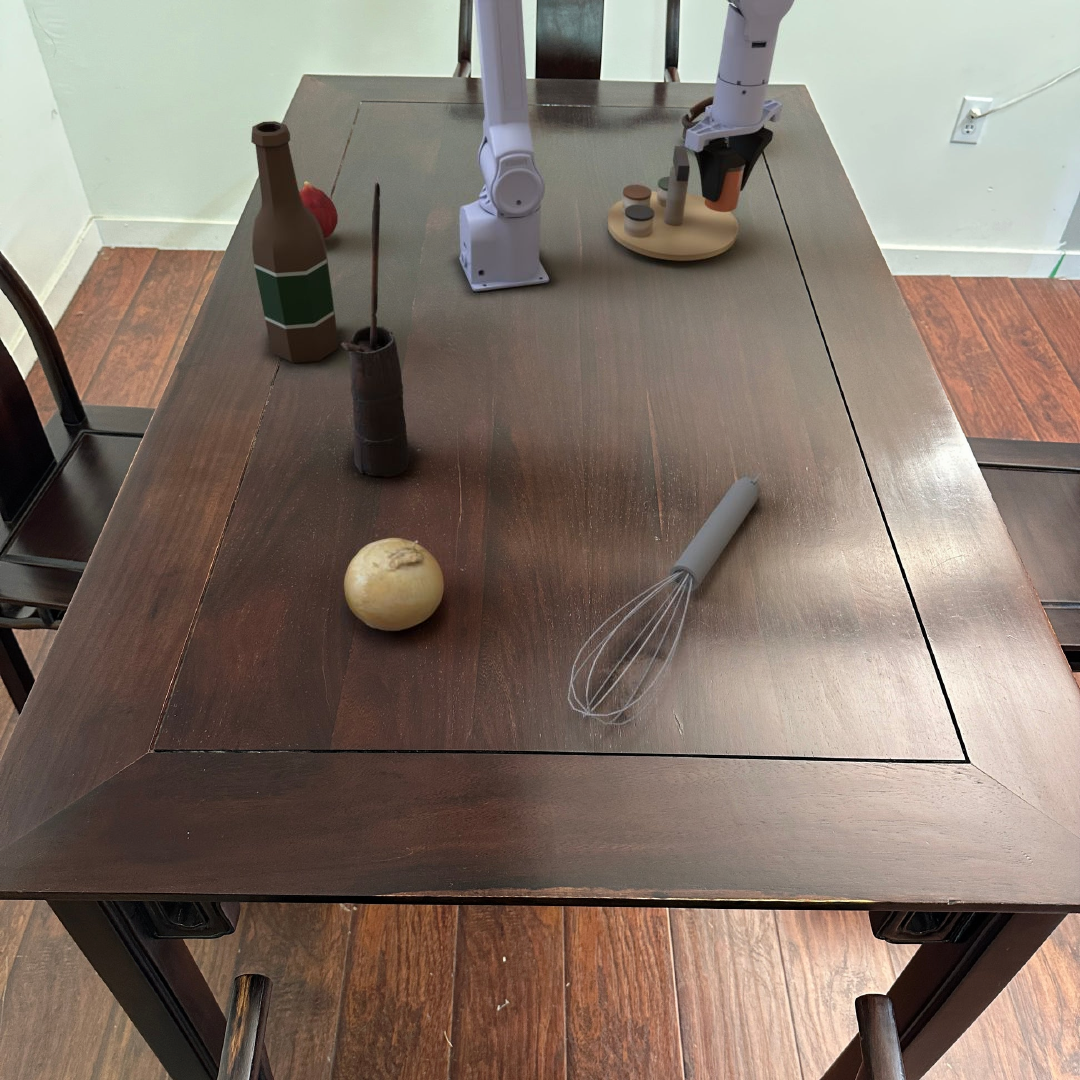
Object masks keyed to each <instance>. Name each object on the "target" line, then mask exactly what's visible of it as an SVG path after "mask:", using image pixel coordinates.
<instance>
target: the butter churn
mask: <svg viewBox="0 0 1080 1080" xmlns="http://www.w3.org/2000/svg"><path fill="white" fill-rule="evenodd" d="M380 197H381V187H380V183H378V182H375V183H374V192H373V205H372V210H371V286H370V287H371V288H370V291H371V293H370V294H371V298H370V299H371V300H370V312H371V313H370V317H371V319H370V325H366V326H364V327H362V328H360V329H358V330H356V331H355V332H354V334H353V335H352V338H351V339H350V340H349V343H347V342H345V341H343V342H341V343H340V345H341V347H342V348H343V349H344V350H346V352H348V353H349V358H350V364H349V365H350V366H349V368H350V370H349V371H350V380H351V382H350V394H351V397H352V414H353V433H354V434H353V445H354V446H353V447H354V448H353V450H354V453H353V455H354V464H355V467H356V468H357V470H358V471H359V472H360V474H367V475H370V476H374V477H383V478H389V477H394V476H398V475H399V474H402V473H403V472H404V471H405V470H406V469H407V468H408V467H409V464H410V453H409V443H408V433H407V423H406V417H405V410H404V397H403V396H404V384H403V380H402V368H401V364H400V358H399V357H400V356H399V352H398V346H397V342H396V338H395V336H394V334H393V331H392V330H389V329H388V328H387V327H385V326H383V325H378V317H377V312H378V306H379V305H378V303H379V301H378V300H379V297H378V296H379V295H378V294H379V293H378V290H379V258H380V257H379V255H380V253H379V252H380V224H381V223H380V220H381V200H380Z"/></svg>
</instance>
